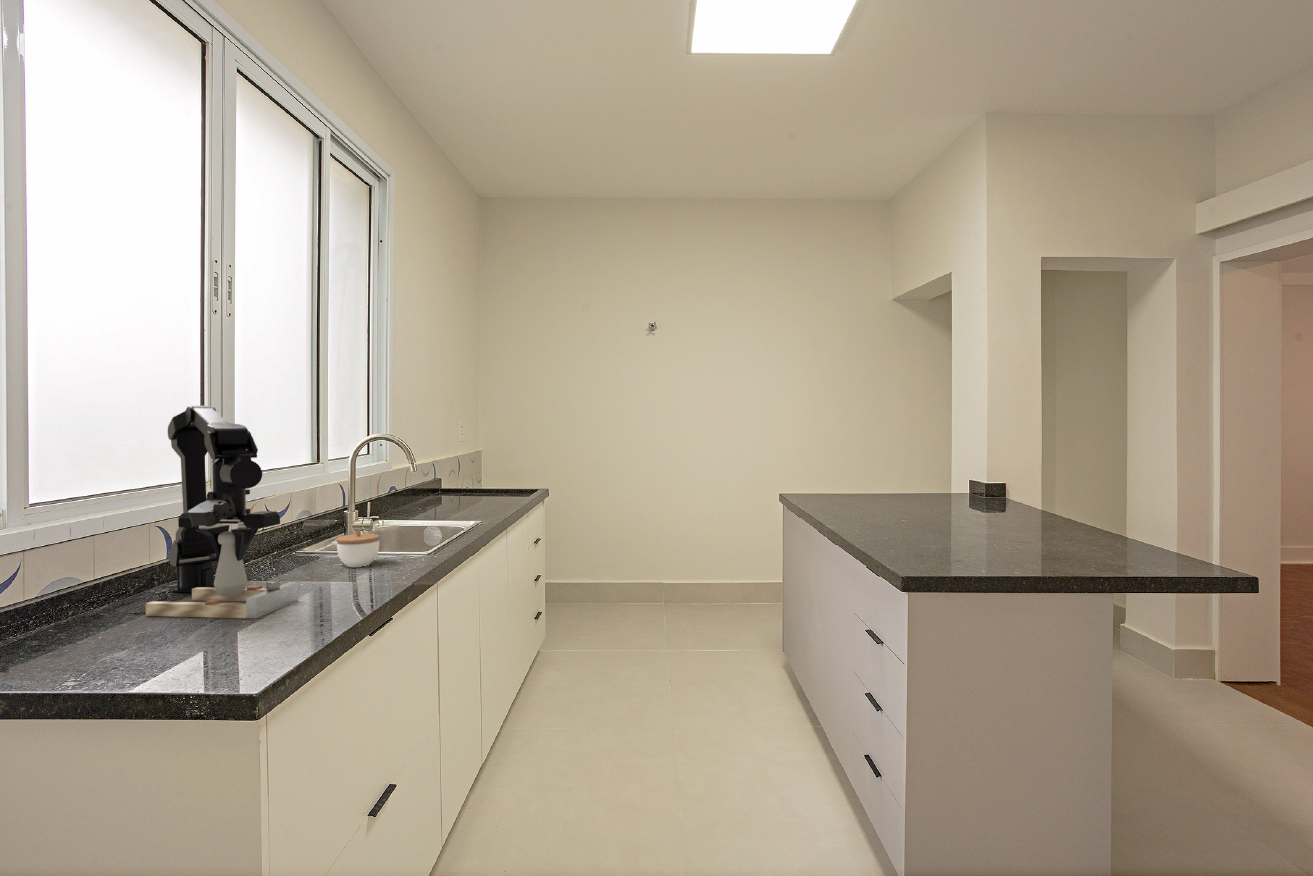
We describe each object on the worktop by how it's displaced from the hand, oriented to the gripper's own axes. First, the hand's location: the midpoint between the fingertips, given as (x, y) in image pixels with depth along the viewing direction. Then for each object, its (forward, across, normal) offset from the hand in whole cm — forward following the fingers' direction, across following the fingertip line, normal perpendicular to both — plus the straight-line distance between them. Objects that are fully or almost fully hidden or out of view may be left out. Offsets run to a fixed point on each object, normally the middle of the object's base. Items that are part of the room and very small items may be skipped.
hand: (230, 560), depth 134 cm
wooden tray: (+10, -2, 0) cm, 10 cm away
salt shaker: (+7, 0, 0) cm, 7 cm away
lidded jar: (+10, +4, +42) cm, 43 cm away
